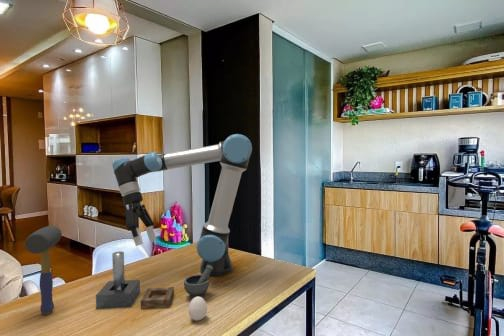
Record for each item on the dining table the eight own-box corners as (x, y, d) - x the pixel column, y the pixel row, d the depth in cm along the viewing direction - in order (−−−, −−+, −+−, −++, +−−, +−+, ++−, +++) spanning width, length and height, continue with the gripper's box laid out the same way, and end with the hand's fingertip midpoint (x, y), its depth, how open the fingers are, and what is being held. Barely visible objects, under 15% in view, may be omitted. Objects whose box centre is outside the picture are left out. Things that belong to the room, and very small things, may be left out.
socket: (140, 291, 120) (139, 279, 119) (130, 307, 108) (130, 293, 107) (109, 293, 119) (108, 281, 118) (96, 308, 107) (95, 295, 106)
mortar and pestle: (185, 305, 109) (184, 272, 108) (183, 293, 118) (182, 263, 117) (215, 300, 112) (215, 268, 112) (211, 289, 121) (210, 260, 121)
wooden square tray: (174, 294, 117) (173, 287, 117) (169, 307, 107) (169, 299, 107) (147, 296, 116) (147, 288, 116) (140, 309, 106) (140, 300, 106)
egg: (207, 313, 102) (207, 292, 102) (207, 323, 96) (206, 300, 96) (189, 315, 102) (189, 293, 101) (188, 325, 96) (187, 302, 95)
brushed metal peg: (126, 292, 115) (125, 251, 115) (123, 296, 111) (121, 254, 111) (115, 292, 115) (114, 251, 114) (111, 297, 111) (110, 255, 110)
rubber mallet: (51, 321, 99) (48, 232, 98) (26, 324, 97) (22, 233, 96) (66, 303, 111) (63, 223, 110) (43, 305, 109) (40, 224, 108)
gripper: (136, 198, 137) (150, 243, 133) (106, 196, 112) (123, 250, 109) (151, 192, 136) (166, 236, 133) (125, 188, 112) (142, 242, 109)
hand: (146, 243), depth 121 cm, fingers open, 13 cm apart
